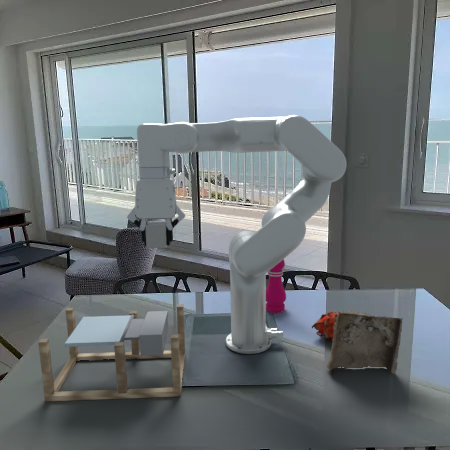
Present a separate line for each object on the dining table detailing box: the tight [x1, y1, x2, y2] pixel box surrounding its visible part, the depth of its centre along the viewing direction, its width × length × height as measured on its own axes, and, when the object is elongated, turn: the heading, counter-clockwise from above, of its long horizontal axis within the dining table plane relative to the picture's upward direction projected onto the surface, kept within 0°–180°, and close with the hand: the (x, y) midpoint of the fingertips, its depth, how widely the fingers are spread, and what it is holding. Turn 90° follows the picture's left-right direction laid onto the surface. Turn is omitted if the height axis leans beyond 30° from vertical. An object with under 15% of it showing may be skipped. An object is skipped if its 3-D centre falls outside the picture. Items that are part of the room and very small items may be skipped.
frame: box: [38, 303, 186, 402], centre depth 99 cm, size 30×19×14 cm, turn 92°
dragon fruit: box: [311, 311, 342, 343], centre depth 117 cm, size 8×8×12 cm
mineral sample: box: [326, 310, 404, 375], centre depth 99 cm, size 17×4×15 cm, turn 88°
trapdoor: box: [64, 310, 169, 356], centre depth 98 cm, size 21×15×5 cm
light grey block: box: [145, 220, 168, 249], centre depth 107 cm, size 5×5×6 cm
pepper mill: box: [266, 258, 287, 314], centre depth 136 cm, size 7×7×20 cm
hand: (157, 243), depth 108 cm, fingers closed on light grey block, 5 cm apart
